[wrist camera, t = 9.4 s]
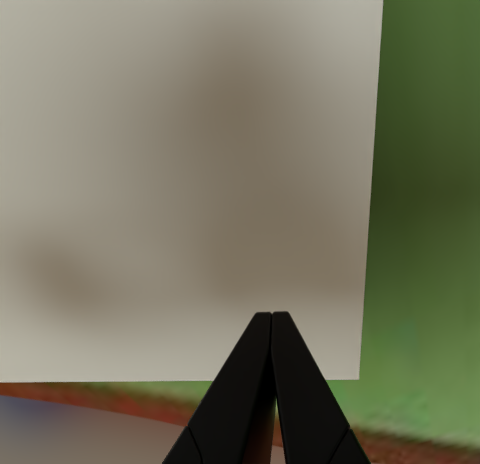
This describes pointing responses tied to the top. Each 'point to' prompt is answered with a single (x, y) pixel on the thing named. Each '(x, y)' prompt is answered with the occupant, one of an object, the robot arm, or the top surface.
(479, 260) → the top surface
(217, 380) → the robot arm
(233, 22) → the tray lid
